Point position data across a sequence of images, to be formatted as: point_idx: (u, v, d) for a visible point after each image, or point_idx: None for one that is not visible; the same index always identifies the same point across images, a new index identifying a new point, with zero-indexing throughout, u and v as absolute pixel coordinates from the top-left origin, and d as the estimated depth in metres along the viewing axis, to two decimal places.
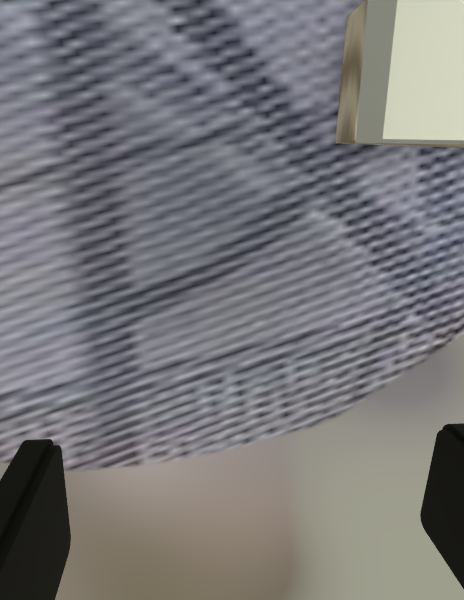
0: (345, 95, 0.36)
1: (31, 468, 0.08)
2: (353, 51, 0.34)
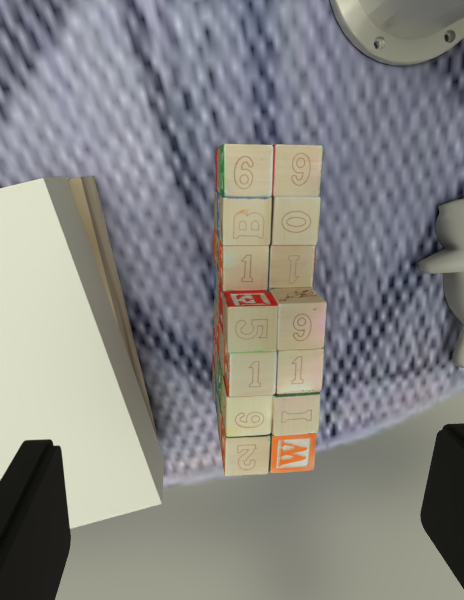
0: None
1: (31, 468, 0.08)
2: None
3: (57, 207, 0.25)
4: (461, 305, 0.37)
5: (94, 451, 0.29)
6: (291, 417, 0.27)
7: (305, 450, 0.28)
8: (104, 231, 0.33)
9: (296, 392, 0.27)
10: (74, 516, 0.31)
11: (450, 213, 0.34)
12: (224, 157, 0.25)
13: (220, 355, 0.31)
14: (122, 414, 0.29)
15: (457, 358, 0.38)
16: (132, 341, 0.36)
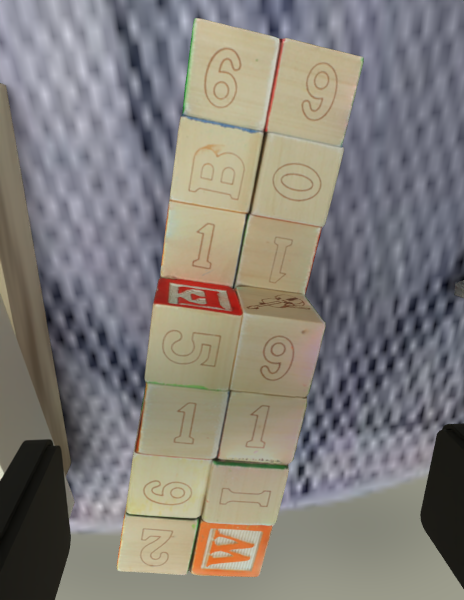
0: None
1: (31, 468, 0.08)
2: None
3: None
4: None
5: None
6: (236, 498, 0.17)
7: (251, 548, 0.18)
8: (12, 170, 0.22)
9: (251, 460, 0.16)
10: None
11: None
12: (192, 43, 0.14)
13: None
14: None
15: None
16: (44, 336, 0.26)
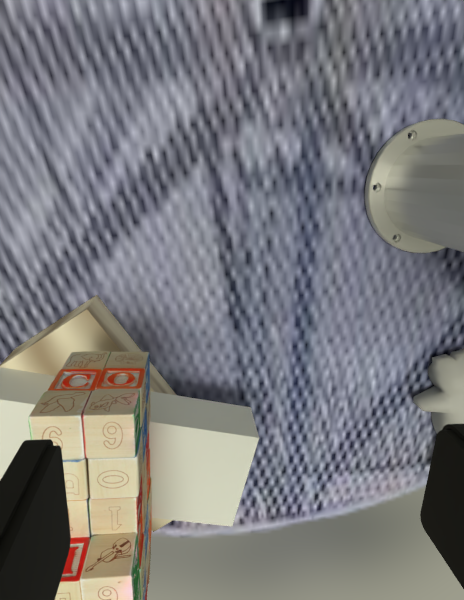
0: (41, 333, 0.40)
1: (31, 468, 0.08)
2: (65, 319, 0.39)
3: None
4: None
5: (187, 458, 0.37)
6: None
7: None
8: (121, 331, 0.42)
9: None
10: (231, 493, 0.39)
11: (440, 367, 0.45)
12: (30, 428, 0.24)
13: None
14: (167, 428, 0.36)
15: None
16: None
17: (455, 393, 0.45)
